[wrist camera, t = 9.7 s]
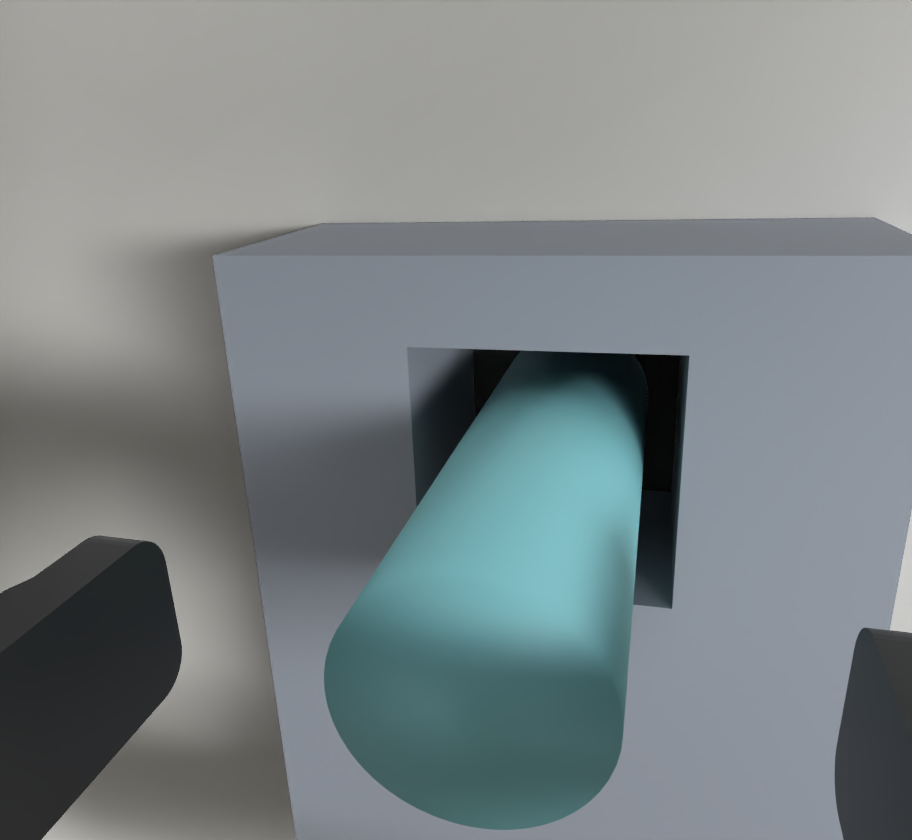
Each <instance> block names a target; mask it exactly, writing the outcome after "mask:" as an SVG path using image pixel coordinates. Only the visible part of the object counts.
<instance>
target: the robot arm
mask: <svg viewBox="0 0 912 840" xmlns="http://www.w3.org/2000/svg"><path fill="white" fill-rule="evenodd" d="M181 656H182V646H181V639H180V634H179V629H178V624H177V618H176V613H175V608H174V603H173V598H172V592H171V587H170V582H169V577H168V571H167V566H166V561H165V557H164V555H163V552H162V550H161V549H160V548H159V547H158V546H157V545H156V544H155V543H153V542H148V541H140V540H132V539H123V538H115V537H106V536H93V537H90V538H88V539H86V540H85V541H83V542H82V543H80V544H79V545H78V546H76V547H75V548H74V549H72V550H71V551H69V552H68V553H67V554H65V555H64V556H62V557H61V558H60V559H58V560H57V561H56V562H54V563H53V564H51V565H50V566H49V567H47V568H46V569H44V570H43V571H42V572H40V573H39V574H38V575H36V576H35V577H33V578H31V579H29V580H27V581H25V582H22V583H20V584H18V585H16V586H14V587H11V588H9V589H7V590H5V591H3V592H2V593H1V594H0V840H41V839H42V838H43V837H44V836H45V835H46V833H47V832H48V831H49V830H50V829H51V828H52V827H53V825H54V824H55V823H56V822H57V821H58V820H59V819H60V817H61V816H62V815H63V814H64V813H65V812H66V811H67V809H68V808H69V807H70V806H71V805H72V804H73V803H74V802H75V800H76V799H77V798H78V797H79V796H80V795H81V794H82V792H83V791H84V790H85V789H86V788H87V787H88V786H89V784H90V783H91V782H92V781H93V780H94V779H95V778H96V776H97V775H98V774H99V773H100V772H101V771H102V770H103V768H104V767H105V766H106V765H107V764H108V763H109V762H110V760H111V759H112V758H113V757H114V756H115V755H116V754H117V752H118V751H119V750H120V749H121V748H122V747H123V746H124V744H125V743H126V742H127V741H128V740H129V739H130V738H131V736H132V735H133V734H134V733H135V732H136V731H137V730H138V728H139V727H140V726H141V725H142V724H143V723H144V722H145V720H146V719H147V718H148V717H149V716H150V715H151V714H152V712H153V711H154V710H155V709H156V708H157V707H158V706H159V704H160V703H161V702H162V701H163V700H164V699H165V697H166V696H167V695H168V694H169V692H170V690H171V689H172V687H173V685H174V683H175V681H176V678H177V675H178V672H179V669H180V664H181ZM835 796H836V805H837V812H838V817H839V821H840V826H841V830H842V835H843V839H844V840H912V633H907V632H899V631H890V630H882V629H873V628H863V629H861V631H860V632H859V634H858V636H857V640H856V643H855V648H854V653H853V658H852V664H851V669H850V675H849V680H848V686H847V691H846V697H845V702H844V708H843V713H842V719H841V724H840V730H839V735H838V741H837V747H836V755H835Z"/></svg>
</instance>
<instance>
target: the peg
mask: <svg viewBox="0 0 912 840" xmlns="http://www.w3.org/2000/svg"><path fill="white" fill-rule="evenodd" d="M647 411H648V386H647V381H646V378H645V374H644V372H643V370H642V367H641V365H640V363H639V362H638V360H637V359H636V357H635V356H634V355H633V354H622V353H588V352H555V351H522V350H521V351H520V352H519V353H518V354H517V356H516V357H515V359H514V360H513V362H512V363H511V365H510V366H509V368H508V369H507V371H506V372H505V374H504V375H503V377H502V378H501V380H500V381H499V383H498V384H497V386H496V388H495V389H494V391H493V392H492V394H491V395H490V397H489V398H488V400H487V401H486V403H485V404H484V406H483V407H482V409H481V410H480V412H479V413H478V415H477V416H476V418H475V420H474V421H473V423H472V424H471V426H470V427H469V429H468V430H467V432H466V433H465V435H464V436H463V438H462V439H461V441H460V442H459V444H458V445H457V447H456V448H455V450H454V452H453V453H452V455H451V456H450V458H449V459H448V461H447V462H446V464H445V465H444V467H443V468H442V470H441V471H440V473H439V474H438V476H437V477H436V479H435V480H434V482H433V484H432V485H431V487H430V488H429V490H428V491H427V493H426V494H425V496H424V497H423V499H422V500H421V502H420V503H419V505H418V506H417V508H416V509H415V511H414V512H413V514H412V516H411V517H410V519H409V520H408V522H407V523H406V525H405V526H404V528H403V529H402V531H401V532H400V534H399V535H398V537H397V538H396V540H395V541H394V543H393V544H392V546H391V548H390V549H389V551H388V552H387V554H386V555H385V557H384V558H383V560H382V561H381V563H380V564H379V566H378V567H377V569H376V570H375V572H374V573H373V575H372V576H371V578H370V580H369V581H368V583H367V584H366V586H365V587H364V589H363V590H362V592H361V593H360V595H359V596H358V598H357V599H356V601H355V602H354V604H353V605H352V607H351V608H350V610H349V612H348V613H347V615H346V616H345V618H344V619H343V621H342V622H341V624H340V625H339V627H338V628H337V630H336V632H335V634H334V636H333V638H332V640H331V642H330V645H329V648H328V652H327V655H326V659H325V668H324V690H325V695H326V701H327V706H328V709H329V712H330V715H331V718H332V721H333V723H334V725H335V727H336V729H337V731H338V734H339V736H340V737H341V739H342V741H343V742H344V744H345V745H346V747H347V748H348V750H349V752H350V753H351V754H352V755H353V757H354V758H355V759H356V760H357V762H358V763H359V764H360V765H361V766H362V767H363V768H364V769H365V770H366V771H367V772H368V773H369V774H370V775H371V777H372V778H374V779H375V780H376V781H377V782H378V783H380V784H381V785H382V786H383V787H384V788H386V789H387V790H388V791H390V792H391V793H393V794H394V795H395V796H397V797H398V798H400V799H401V800H403V801H405V802H406V803H408V804H410V805H412V806H414V807H415V808H417V809H419V810H421V811H424V812H426V813H428V814H430V815H433V816H435V817H438V818H441V819H444V820H447V821H450V822H453V823H456V824H461V825H465V826H469V827H475V828H483V829H491V830H514V829H526V828H532V827H537V826H542V825H545V824H548V823H551V822H554V821H557V820H560V819H562V818H564V817H566V816H568V815H570V814H572V813H574V812H576V811H577V810H579V809H580V808H582V807H583V806H585V805H586V804H588V803H589V802H590V801H591V800H592V799H593V798H594V797H595V796H596V795H597V794H598V793H599V792H600V791H601V790H602V788H603V787H604V786H605V784H606V783H607V782H608V781H609V779H610V777H611V775H612V773H613V771H614V769H615V767H616V765H617V762H618V759H619V756H620V753H621V748H622V740H623V732H624V719H625V705H626V692H627V679H628V665H629V652H630V638H631V625H632V612H633V598H634V585H635V571H636V558H637V545H638V531H639V518H640V505H641V491H642V478H643V464H644V451H645V438H646V424H647Z"/></svg>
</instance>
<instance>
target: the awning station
mask: <svg viewBox="0 0 912 840" xmlns="http://www.w3.org/2000/svg"><path fill="white" fill-rule="evenodd" d="M212 258H213V265H214V272H215V279H216V286H217V293H218V300H219V307H220V314H221V321H222V328H223V335H224V342H225V349H226V356H227V363H228V370H229V377H230V383H231V390H232V397H233V404H234V411H235V418H236V425H237V432H238V439H239V446H240V453H241V460H242V467H243V474H244V481H245V488H246V495H247V502H248V509H249V516H250V523H251V529H252V536H253V543H254V550H255V557H256V564H257V571H258V578H259V585H260V592H261V599H262V606H263V613H264V620H265V627H266V634H267V641H268V648H269V655H270V662H271V669H272V676H273V682H274V689H275V696H276V703H277V710H278V717H279V724H280V731H281V738H282V745H283V752H284V759H285V766H286V773H287V780H288V787H289V794H290V801H291V808H292V815H293V822H294V828H295V835H296V840H844V839H843V835H842V830H841V826H840V821H839V817H838V812H837V805H836V796H835V755H836V747H837V741H838V735H839V730H840V724H841V719H842V713H843V708H844V702H845V697H846V691H847V686H848V680H849V675H850V669H851V664H852V658H853V653H854V648H855V643H856V640H857V636H858V634H859V632H860V631H861V629H863V628H873V629H882V630H890V625H891V619H892V614H893V608H894V603H895V597H896V592H897V586H898V581H899V576H900V570H901V565H902V559H903V554H904V548H905V543H906V537H907V532H908V526H909V521H910V516H911V510H912V234H910V233H907V232H905V231H903V230H901V229H899V228H896V227H894V226H892V225H890V224H888V223H885V222H883V221H881V220H879V219H877V218H793V219H699V220H605V221H510V222H416V223H323V224H319V225H316V226H312V227H309V228H306V229H302V230H299V231H295V232H292V233H288V234H285V235H281V236H278V237H274V238H271V239H268V240H264V241H261V242H257V243H254V244H250V245H247V246H243V247H240V248H236V249H233V250H230V251H226V252H223V253H219V254H216V255H212ZM473 349H489V350H522V351H555V352H588V353H622V354H655V355H680V364H679V380H678V395H677V411H676V427H675V442H674V458H673V473H672V489H671V492H664V491H650V490H642V491H641V505H640V518H639V531H638V545H637V558H636V571H635V585H634V598H633V612H632V625H631V638H630V652H629V665H628V679H627V692H626V705H625V719H624V732H623V740H622V748H621V753H620V756H619V759H618V762H617V765H616V767H615V769H614V771H613V773H612V775H611V777H610V779H609V781H608V782H607V783H606V784H605V786H604V787H603V788H602V790H601V791H600V792H599V793H598V794H597V795H596V796H595V797H594V798H593V799H592V800H591V801H590V802H589V803H588V804H586V805H585V806H583V807H582V808H580V809H579V810H577V811H576V812H574V813H572V814H570V815H568V816H566V817H564V818H562V819H560V820H557V821H554V822H551V823H548V824H545V825H542V826H537V827H532V828H526V829H514V830H491V829H483V828H475V827H469V826H465V825H461V824H456V823H453V822H450V821H447V820H444V819H441V818H438V817H435V816H433V815H430V814H428V813H426V812H424V811H421V810H419V809H417V808H415V807H414V806H412V805H410V804H408V803H406V802H405V801H403V800H401V799H400V798H398V797H397V796H395V795H394V794H393V793H391V792H390V791H388V790H387V789H386V788H384V787H383V786H382V785H381V784H380V783H378V782H377V781H376V780H375V779H374V778H372V777H371V775H370V774H369V773H368V772H367V771H366V770H365V769H364V768H363V767H362V766H361V765H360V764H359V763H358V762H357V760H356V759H355V758H354V757H353V755H352V754H351V753H350V752H349V750H348V748H347V747H346V745H345V744H344V742H343V741H342V739H341V737H340V736H339V734H338V731H337V729H336V727H335V725H334V723H333V721H332V718H331V715H330V712H329V709H328V706H327V701H326V695H325V690H324V668H325V659H326V655H327V652H328V648H329V645H330V642H331V640H332V638H333V636H334V634H335V632H336V630H337V628H338V627H339V625H340V624H341V622H342V621H343V619H344V618H345V616H346V615H347V613H348V612H349V610H350V608H351V607H352V605H353V604H354V602H355V601H356V599H357V598H358V596H359V595H360V593H361V592H362V590H363V589H364V587H365V586H366V584H367V583H368V581H369V580H370V578H371V576H372V575H373V573H374V572H375V570H376V569H377V567H378V566H379V564H380V563H381V561H382V560H383V558H384V557H385V555H386V554H387V552H388V551H389V549H390V548H391V546H392V544H393V543H394V541H395V540H396V538H397V537H398V535H399V534H400V532H401V531H402V529H403V528H404V526H405V525H406V523H407V522H408V520H409V519H410V517H411V516H412V514H413V512H414V511H415V509H416V508H417V506H418V505H419V503H420V502H421V500H422V499H423V497H424V496H425V494H426V493H427V491H428V490H429V488H430V487H431V485H432V484H433V482H434V480H435V479H436V477H437V476H438V474H439V473H440V471H441V470H442V468H443V467H444V465H445V464H446V462H447V461H448V459H449V458H450V456H451V455H452V453H453V452H454V450H455V448H456V447H457V445H458V444H459V442H460V441H461V439H462V438H463V436H464V435H465V433H466V432H467V430H468V429H469V427H470V426H471V424H472V423H473V421H474V420H475V390H474V357H473Z"/></svg>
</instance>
